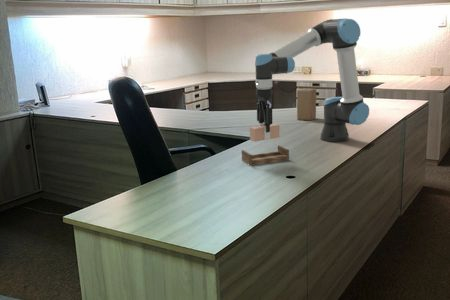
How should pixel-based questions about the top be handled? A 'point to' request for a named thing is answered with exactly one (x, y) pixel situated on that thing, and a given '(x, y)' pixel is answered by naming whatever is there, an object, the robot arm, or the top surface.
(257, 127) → the pink rectangular block
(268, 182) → the top surface
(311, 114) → the wooden block
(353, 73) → the robot arm
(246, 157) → the rack
